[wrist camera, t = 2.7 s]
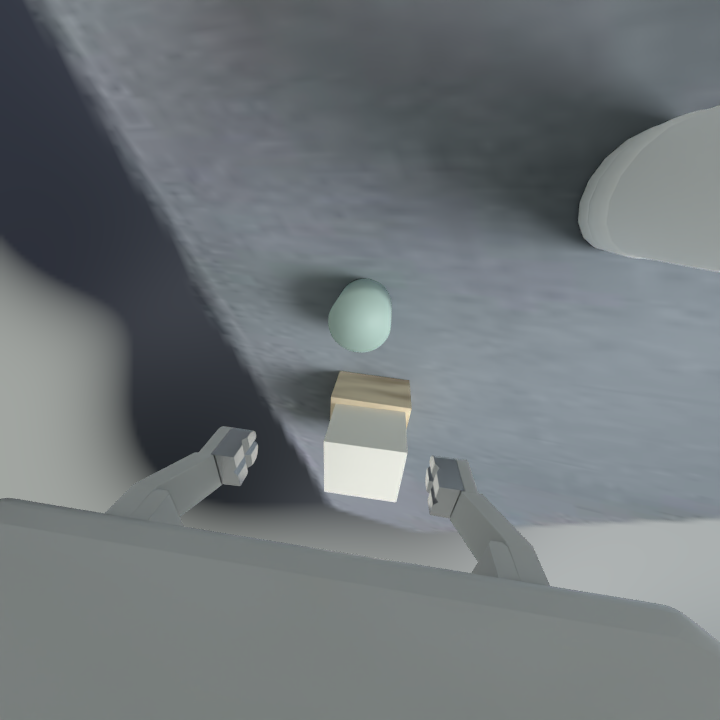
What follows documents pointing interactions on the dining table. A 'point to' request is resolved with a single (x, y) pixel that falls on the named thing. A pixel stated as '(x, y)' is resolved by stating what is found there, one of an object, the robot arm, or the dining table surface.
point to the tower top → (365, 452)
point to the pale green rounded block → (361, 316)
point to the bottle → (660, 194)
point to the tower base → (372, 392)
